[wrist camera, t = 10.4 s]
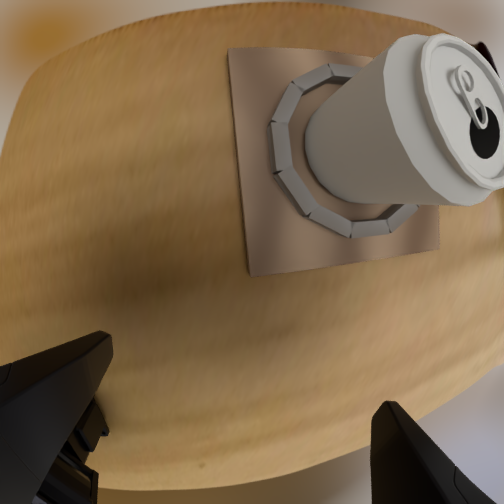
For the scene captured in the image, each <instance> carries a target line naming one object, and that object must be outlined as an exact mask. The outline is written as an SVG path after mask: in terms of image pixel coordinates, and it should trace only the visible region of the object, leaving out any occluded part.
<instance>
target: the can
mask: <svg viewBox="0 0 504 504" xmlns="http://www.w3.org/2000/svg"><path fill="white" fill-rule="evenodd" d="M305 151H306V154H307V158H308V162H309V165H310V168H311V169H312V171H313V172H314V174H315V176H316V177H317V179H318V181H319V182H320V183H321V184H322V185H323V186H324V187H325V188H326V189H327V190H328V191H329V192H330V193H332V194H333V195H334V196H337V197H339V198H341V199H343V200H345V201H347V202H353V203H362V204H422V205H450V206H471V205H474V204H477V203H480V202H483V201H484V200H485V199H486V198H487V197H488V195H489V194H490V193H491V192H492V191H494V190H497V189H500V188H503V187H504V86H503V84H502V82H501V80H500V79H499V77H498V76H497V74H496V73H495V71H494V70H493V68H492V67H491V65H490V64H489V63H488V62H487V60H486V59H485V58H484V57H483V56H482V55H481V54H480V53H479V52H478V51H477V50H476V49H475V48H473V47H472V46H470V45H469V44H467V43H466V42H464V41H463V40H461V39H460V38H458V37H455V36H451V35H448V34H444V33H442V34H438V35H433V36H430V37H428V36H423V35H418V34H413V35H409V36H405V37H402V38H399V39H398V40H397V41H395V42H394V43H393V44H392V45H390V46H389V47H388V48H387V49H385V50H384V51H383V52H382V53H380V54H379V55H378V56H377V57H376V58H374V59H373V60H372V61H371V62H370V63H368V64H367V65H366V66H365V67H364V68H363V69H361V70H360V71H359V72H358V73H357V74H356V75H354V76H353V77H352V78H351V79H350V80H349V81H347V82H346V83H345V84H344V85H343V86H342V87H341V88H339V89H338V90H337V91H336V92H335V93H334V94H333V95H332V96H330V97H329V98H328V99H327V100H326V101H325V102H324V103H323V104H322V105H321V106H320V107H319V108H318V109H317V110H316V111H315V112H314V114H313V115H312V116H311V118H310V120H309V123H308V126H307V128H306V131H305Z"/></svg>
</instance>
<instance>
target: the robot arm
mask: <svg viewBox="0 0 504 504" xmlns="http://www.w3.org/2000/svg"><path fill="white" fill-rule="evenodd" d="M112 358H113V345H112V337H111V335H110V334H108V333H106V332H103V331H96V332H94V333H91V334H88V335H86V336H83V337H80V338H78V339H75V340H72V341H70V342H67V343H64V344H61V345H59V346H56V347H53V348H51V349H48V350H45V351H42V352H40V353H37V354H34V355H31V356H28V357H26V358H23V359H20V360H17V361H14V362H13V363H9V364H6V365H3V366H0V504H97V493H98V491H97V490H98V476H99V473H97V472H96V471H95V470H92V469H90V468H89V467H88V466H86V465H85V462H86V460H87V457H88V455H89V452H93V451H94V450H95V448H96V445H97V443H98V440H99V438H100V436H108V434H109V430H108V428H107V426H106V423H105V421H104V419H103V417H102V414H101V412H100V410H99V408H98V406H97V404H96V403H95V400H94V398H93V396H94V394H95V393H96V391H97V389H98V387H99V384H100V382H101V380H102V378H103V376H104V374H105V372H106V370H107V368H108V366H109V364H110V362H111V360H112ZM370 466H371V489H372V504H496V503H495V502H494V501H493V500H492V499H490V498H489V497H488V496H487V495H486V494H485V493H484V492H482V491H481V490H480V489H479V488H478V487H477V486H476V485H475V484H473V483H472V482H471V481H470V480H469V479H468V478H467V477H466V476H465V475H464V474H463V473H462V472H461V471H460V470H459V468H458V467H457V466H455V464H454V463H453V462H452V461H451V460H450V459H449V458H448V457H447V456H446V454H445V453H444V452H443V451H442V450H441V449H440V448H439V447H438V446H437V445H436V444H435V443H434V442H433V440H432V439H431V438H430V437H429V436H428V435H427V434H426V433H425V432H424V431H423V430H422V429H421V427H420V426H419V425H418V424H417V423H416V422H415V421H414V420H413V419H412V418H411V417H410V416H409V415H408V413H407V412H406V411H405V410H404V409H403V408H402V407H401V406H400V405H399V404H398V403H397V402H396V401H385V402H383V403H382V405H381V406H380V407H379V409H378V410H377V411H376V413H375V414H374V415H373V417H372V421H371V450H370Z"/></svg>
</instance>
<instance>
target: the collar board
mask: <svg viewBox="0 0 504 504" xmlns="http://www.w3.org/2000/svg"><path fill="white" fill-rule="evenodd" d="M373 59H374V58H371V57H366V56H360V55H354V54H347V53H340V52H332V51H323V50H312V49H298V48H269V47H256V48H228V52H227V61H228V71H229V82H230V92H231V103H232V113H233V123H234V133H235V143H236V154H237V164H238V173H239V183H240V193H241V203H242V213H243V223H244V232H245V242H246V252H247V261H248V271H249V275H250V277H258V276H266V275H273V274H281V273H288V272H296V271H303V270H310V269H317V268H324V267H331V266H338V265H344V264H351V263H358V262H364V261H371V260H377V259H384V258H390V257H396V256H402V255H408V254H414V253H420V252H426V251H432V250H438V249H440V229H439V205H422V204H362V203H353V202H347V201H345V200H343V199H341V198H339V197H337V196H334V195H333V194H332V193H330V192H329V191H328V190H327V189H326V188H325V187H324V186H323V185H322V184H321V183H320V182H319V181H318V179H317V177H316V176H315V174H314V172H313V171H312V169H311V168H310V165H309V162H308V158H307V154H306V151H305V131H306V128H307V126H308V123H309V120H310V118H311V116H312V115H313V114H314V112H315V111H316V110H317V109H318V108H319V107H320V106H321V105H322V104H323V103H324V102H325V101H326V100H327V99H328V98H329V97H330V96H332V95H333V94H334V93H335V92H336V91H337V90H338V89H339V88H341V87H342V86H343V85H344V84H345V83H346V82H347V81H349V80H350V79H351V78H352V77H353V76H354V75H356V74H357V73H358V72H359V71H360V70H361V69H363V68H364V67H365V66H366V65H367V64H368V63H370V62H371V61H372V60H373Z"/></svg>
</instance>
